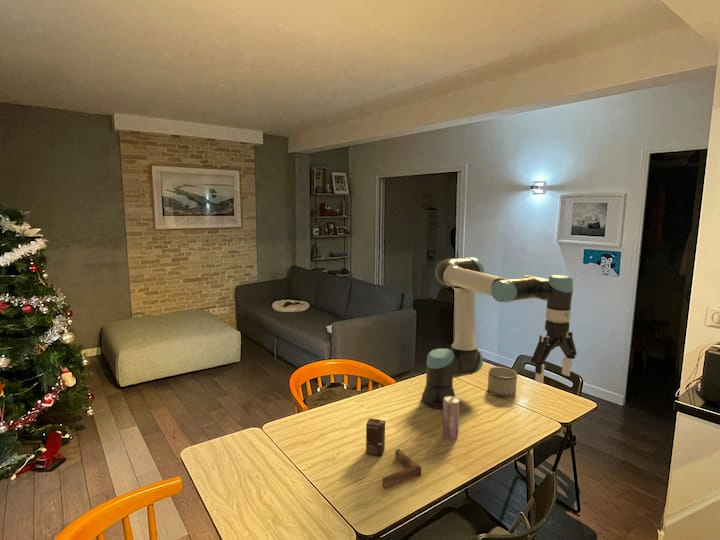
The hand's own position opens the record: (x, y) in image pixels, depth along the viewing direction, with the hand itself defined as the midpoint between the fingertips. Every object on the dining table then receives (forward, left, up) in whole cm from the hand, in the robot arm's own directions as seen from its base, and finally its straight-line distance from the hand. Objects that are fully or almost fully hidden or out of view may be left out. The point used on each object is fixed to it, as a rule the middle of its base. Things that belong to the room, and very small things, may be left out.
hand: (552, 378), depth 143 cm
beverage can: (-24, -25, -28) cm, 44 cm away
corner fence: (-16, -56, -27) cm, 64 cm away
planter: (-41, +21, -28) cm, 53 cm away
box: (-28, -56, -28) cm, 68 cm away
